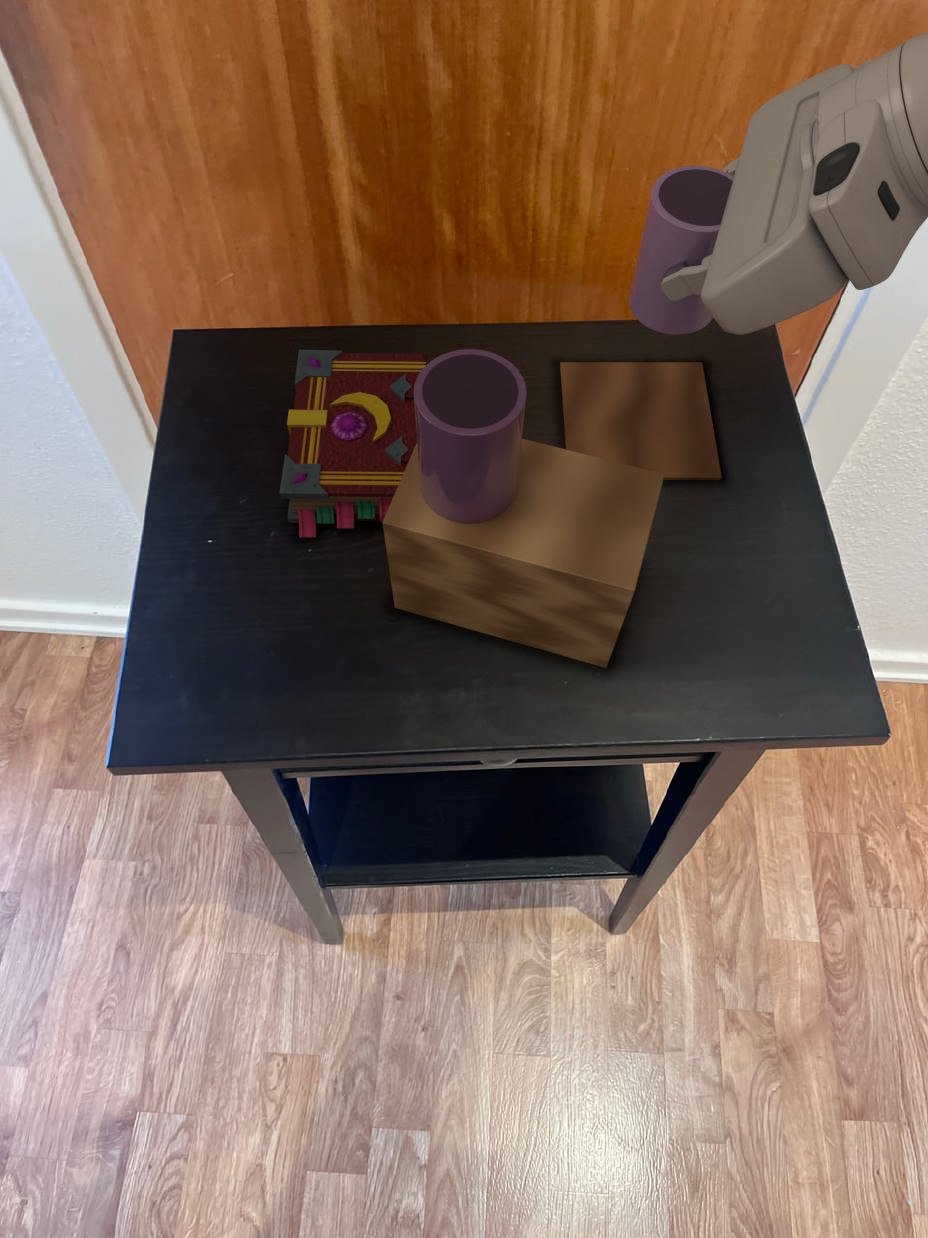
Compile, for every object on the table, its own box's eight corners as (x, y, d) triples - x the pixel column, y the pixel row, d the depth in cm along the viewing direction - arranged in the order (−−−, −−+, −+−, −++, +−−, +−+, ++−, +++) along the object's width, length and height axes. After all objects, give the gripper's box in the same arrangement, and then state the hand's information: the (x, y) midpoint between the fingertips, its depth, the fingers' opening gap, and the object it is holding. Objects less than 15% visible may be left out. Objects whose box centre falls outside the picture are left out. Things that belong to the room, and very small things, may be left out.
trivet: (701, 365, 79) (702, 361, 79) (720, 480, 73) (721, 477, 73) (559, 364, 79) (560, 361, 79) (567, 480, 73) (568, 477, 73)
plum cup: (537, 483, 58) (550, 390, 50) (469, 541, 56) (470, 454, 48) (468, 428, 60) (469, 331, 52) (399, 483, 58) (390, 389, 50)
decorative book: (431, 387, 78) (429, 346, 73) (425, 538, 70) (423, 503, 66) (305, 386, 78) (296, 345, 73) (286, 537, 70) (275, 501, 66)
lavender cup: (733, 304, 65) (771, 197, 57) (677, 348, 63) (708, 245, 55) (666, 259, 67) (694, 151, 59) (610, 301, 65) (630, 195, 57)
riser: (633, 564, 69) (665, 473, 59) (606, 668, 65) (634, 591, 54) (433, 511, 71) (428, 414, 61) (394, 608, 67) (382, 522, 57)
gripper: (874, 4, 54) (684, 125, 64) (833, 216, 45) (620, 317, 55) (914, 90, 57) (727, 191, 67) (883, 302, 48) (673, 382, 58)
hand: (678, 249), depth 61 cm, fingers closed on lavender cup, 6 cm apart
